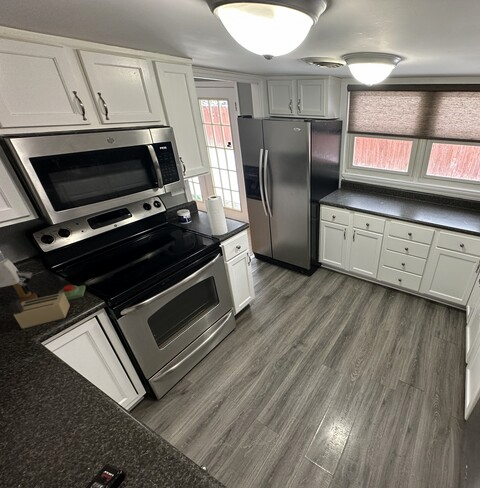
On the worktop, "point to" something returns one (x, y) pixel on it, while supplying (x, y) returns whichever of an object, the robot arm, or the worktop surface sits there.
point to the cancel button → (68, 288)
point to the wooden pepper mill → (24, 296)
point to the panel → (74, 292)
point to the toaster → (42, 310)
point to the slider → (16, 306)
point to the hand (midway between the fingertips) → (11, 296)
